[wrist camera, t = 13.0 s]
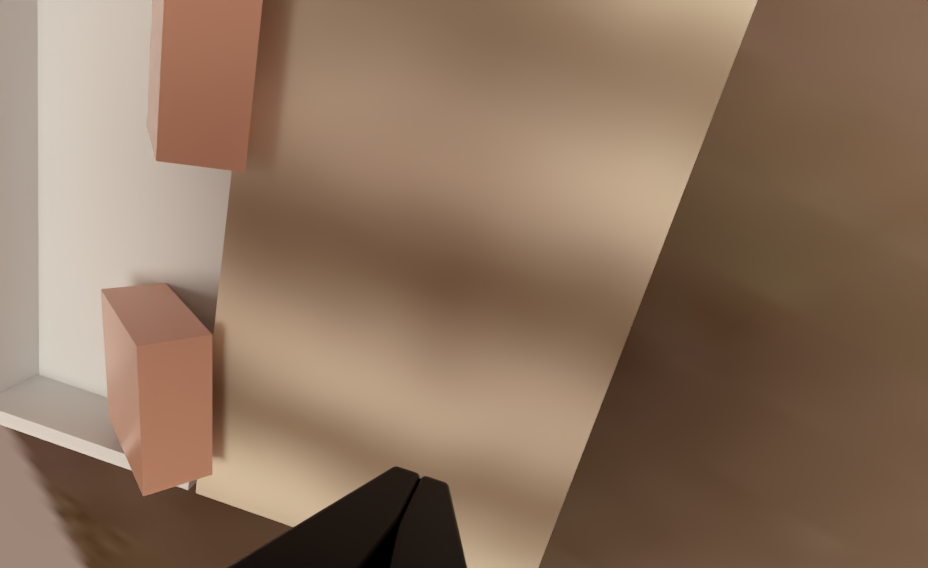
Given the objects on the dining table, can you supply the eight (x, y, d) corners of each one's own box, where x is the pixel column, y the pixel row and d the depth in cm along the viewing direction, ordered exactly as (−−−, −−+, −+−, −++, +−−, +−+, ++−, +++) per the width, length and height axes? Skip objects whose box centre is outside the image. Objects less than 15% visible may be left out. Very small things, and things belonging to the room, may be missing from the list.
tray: (235, 442, 22) (187, 490, 19) (39, 376, 23) (-35, 412, 20) (313, -127, 16) (259, -181, 13) (36, -193, 16) (-72, -258, 14)
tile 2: (212, 474, 18) (143, 496, 16) (169, 404, 21) (108, 417, 20) (212, 334, 16) (136, 346, 15) (165, 282, 20) (100, 289, 18)
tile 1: (245, 172, 14) (155, 161, 13) (217, 137, 18) (146, 126, 17) (267, -44, 12) (167, -78, 11) (231, -32, 16) (154, -55, 15)
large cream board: (528, 541, 21) (523, 607, 18) (242, 445, 22) (195, 492, 19) (738, -26, 15) (781, -61, 12) (323, -125, 16) (270, -179, 13)
